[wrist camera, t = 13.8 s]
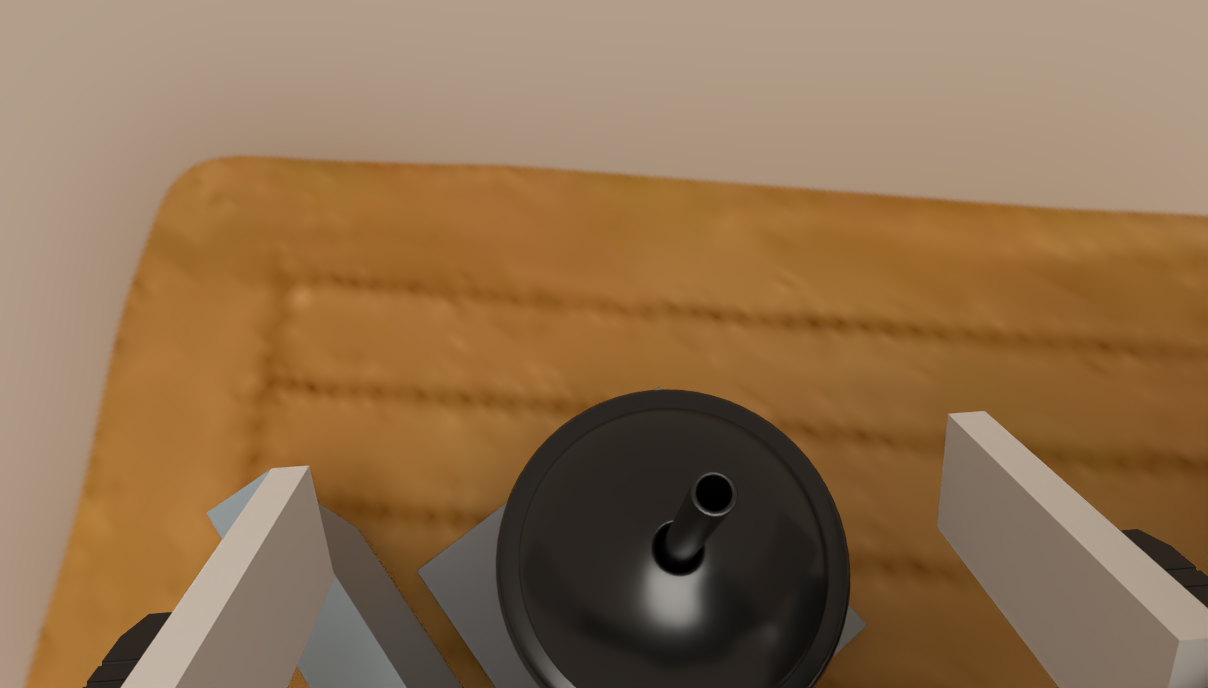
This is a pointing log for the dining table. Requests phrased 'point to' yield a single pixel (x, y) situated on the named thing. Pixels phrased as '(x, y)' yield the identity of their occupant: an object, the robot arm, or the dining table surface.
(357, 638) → the low wall
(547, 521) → the drinking cup
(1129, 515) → the dining table surface
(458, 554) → the rubber mat
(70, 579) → the dining table surface
